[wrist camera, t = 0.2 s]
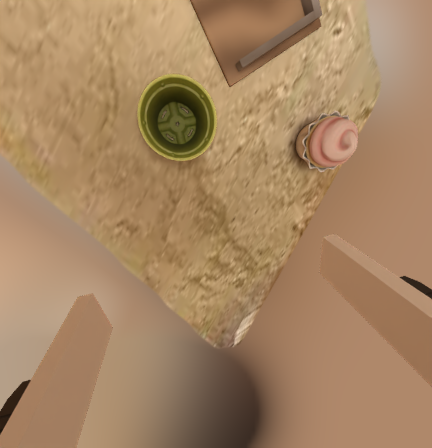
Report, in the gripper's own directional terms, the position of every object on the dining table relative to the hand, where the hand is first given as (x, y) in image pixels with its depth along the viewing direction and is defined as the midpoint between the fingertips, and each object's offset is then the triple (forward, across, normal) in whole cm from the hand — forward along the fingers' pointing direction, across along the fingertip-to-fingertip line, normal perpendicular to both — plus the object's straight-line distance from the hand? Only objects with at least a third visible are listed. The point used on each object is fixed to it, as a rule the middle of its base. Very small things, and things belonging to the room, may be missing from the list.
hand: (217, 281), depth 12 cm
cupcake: (+28, +23, +2) cm, 36 cm away
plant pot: (+28, 0, +8) cm, 29 cm away
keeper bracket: (+28, +14, +23) cm, 39 cm away
